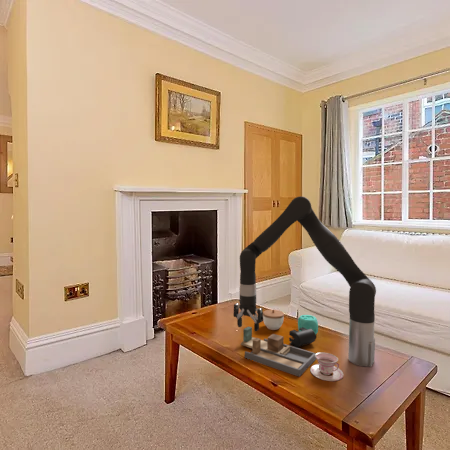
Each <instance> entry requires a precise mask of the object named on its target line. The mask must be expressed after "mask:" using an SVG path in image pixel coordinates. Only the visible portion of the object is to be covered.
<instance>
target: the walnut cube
mask: <svg viewBox="0 0 450 450" xmlns="http://www.w3.org/2000/svg"><path fill="white" fill-rule="evenodd" d="M266 339H267V349H269V350H272V351H275V352H279V351H280V350H282V349H283V344H284V335H283V336H282V335H280V334H279V335H278V334H275V333H272V334H270V335H269V336H268V337H267V338H266Z"/></svg>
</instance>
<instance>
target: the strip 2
mask: <svg viewBox="0 0 450 450" xmlns="http://www.w3.org/2000/svg"><path fill="white" fill-rule="evenodd" d="M254 338H255V339H254V340H253V348H252V351H253V353H252V354H255V355H258V356H261V357H264V358H267V359H270V360H273V361H277V362H280V363H283V364H286V365H289V366H292V367H295V368H298V369H299V368H300V367H301V366H302V364H301V363H298V362H295V361H292V360H289V359H285V358H282V357H279V356H276V355H273V354H270V353H266V352H263V351H260V349H261V340H262V339H261V338H259V337H254Z"/></svg>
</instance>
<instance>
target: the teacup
mask: <svg viewBox="0 0 450 450" xmlns="http://www.w3.org/2000/svg"><path fill="white" fill-rule="evenodd" d="M315 353H316V352H315ZM315 357H316V361H317V363H315V364H313V365H312V366H311V367H310V370H309V371H310V373H311V375H312V376H313V377H315V378H317V379H320V380H322V381H326V382H327V381H328V382H336V381H340V380H342V379H343V378H344V372H343V370H342V369H341V368H339V367H340V364H339V363H338V362H339V357H337V356H336V355H334V354H332V353H330V352H324V351H323V352H320V351H319V352H317V353H316V354H315ZM331 374H332V375H331Z"/></svg>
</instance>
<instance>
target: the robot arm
mask: <svg viewBox="0 0 450 450" xmlns="http://www.w3.org/2000/svg"><path fill="white" fill-rule="evenodd" d="M314 211H315V210H314V209H313V207H312V203H311V201H310V199H309V198H307V197H305V196H296V197H294V198H293V199H292V200H291V201H290V203H289V204H288V205H287V207H286V208H285V209H284V210H283V212H282V213H281V214H280V215H279V216H278V217H277V218H276V219H275V220H274V221H273V222H272V223H271V224H270V225H269V226H268V227H267V228H266V229H264V231H262V232H261V233H260V234H259V235H258V236H257V237H256V238H255V239H254V241H252V242H251V243H250V244H248V245H246V247H244V249H243V250H242V251H241V252H240V255H239V269H240V273H239V303H238V302H237V303H234V305H233V317H234V318H236V321H237V323H236V324H237V326H238V328H241V327H243V316H244V317H245V316H246V317H249V318H251V320H252V321H253V322H254V323H253V324H254V325H253V326H254V327H253V328H254V329H253V331H254V332H258V331H259V330H260V324H261V323H263V322H264V321H263V312H264V311H263V309H264V308H262V307H260V308H258V307H257V285H256V284H257V275H256V263H257V262H256V259H258V258H259V256H261V255H262V253H264V252H266V251H267V250H269V249H270V248H271V247H272V246H273V245H274V244H275V243H276V242H277V241H278V240H279V239H280V238H281V237H282V236H283V235H284V233H285V232H286V231H287V230H288V229H289V228H290V226H292V225H293V224H295V223H296V222H298V223H299V224H300V225H301V226H302V228H304V230H305V231H306V233H307V234H308V236H309V237H310V238H309V239H311V241H312V243H313V244H314V246H315V247H316V249H317V250H318V252H319V253H320V254H321V256H322V257H323V258H324V259H325V261H326V262H327V263H328V264H329V265H330V266H332V267H333V268H334V269H335V270H336V271H337V272H339V273H340V275H341V276H342V277H343V278H344V279H345V281H346V282H347V284H348V286H349V287H350V288H349V293H348V312H349V324H348V325H349V327H348V359H347V360H348V361H349V362H350V363H352V364H353V365H356V366H360V367H369V368H372V366H373V365H374V363H375V352H376V351H375V349H376V338H375V319H376V317H375V316H376V315H375V304H376V303H375V299H376V293H377V288H376V284H374V282H373V281H372V280H371V279H370V278H369V277H368V276H367V275H366V274H365V273H364V272H363V271H362V270H361V268H360V267H359V266H358V265H357V264H356V262H355V261H354V259H353V258H352V256H351V255H350V253H349V252H348V251H347V249H346V248H345V247H344V245H343V244H342V242H341V241H340V240H339V238H338V237H337V236H336V235H335V234H334V233H333V232H332V231H331V230H330V229H329V228H328V227H327V226H326V225H324V223H322V222H321V220H320V219H319V218H318V216H317V214H316V213H315V212H314ZM239 309H240V312H239Z"/></svg>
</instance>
